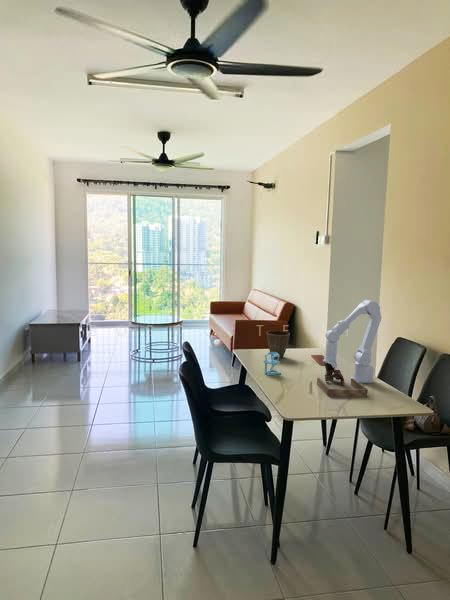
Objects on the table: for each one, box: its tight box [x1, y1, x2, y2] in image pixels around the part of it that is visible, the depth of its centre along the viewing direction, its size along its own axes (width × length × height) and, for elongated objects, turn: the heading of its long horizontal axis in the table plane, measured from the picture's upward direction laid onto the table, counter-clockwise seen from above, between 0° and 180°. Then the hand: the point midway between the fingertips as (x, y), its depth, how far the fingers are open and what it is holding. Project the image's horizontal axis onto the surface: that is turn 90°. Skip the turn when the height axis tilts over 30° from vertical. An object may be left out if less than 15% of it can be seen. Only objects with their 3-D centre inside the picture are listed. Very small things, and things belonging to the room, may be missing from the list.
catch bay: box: [316, 377, 369, 398], centre depth 202 cm, size 19×17×4 cm
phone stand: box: [263, 351, 282, 376], centre depth 225 cm, size 8×8×12 cm
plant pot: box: [266, 330, 291, 359], centre depth 260 cm, size 15×15×16 cm
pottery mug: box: [324, 368, 345, 386], centre depth 214 cm, size 12×10×8 cm
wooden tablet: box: [310, 354, 327, 367], centre depth 258 cm, size 27×10×2 cm, turn 3°
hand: (329, 376), depth 219 cm, fingers closed
